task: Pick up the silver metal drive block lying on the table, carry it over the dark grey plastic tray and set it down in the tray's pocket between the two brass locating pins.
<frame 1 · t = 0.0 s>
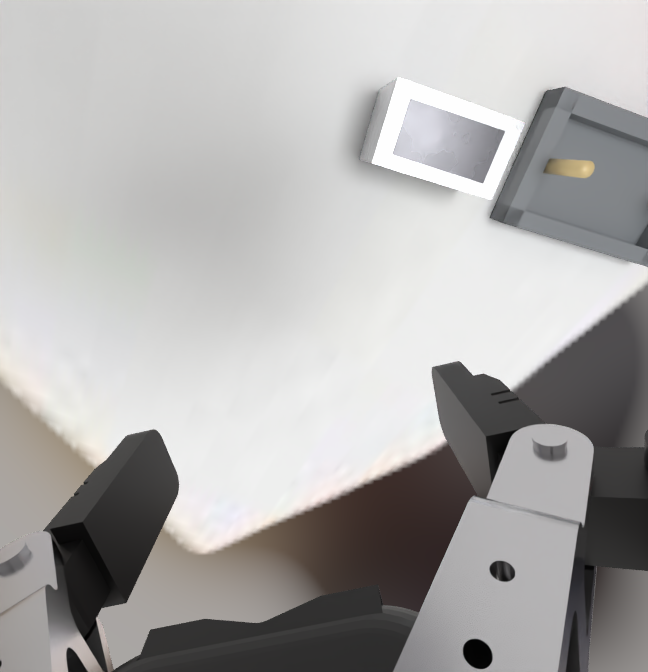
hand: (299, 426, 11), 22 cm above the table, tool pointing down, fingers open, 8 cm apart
tray: (592, 183, 31), on the table
drive: (420, 142, 29), on the table
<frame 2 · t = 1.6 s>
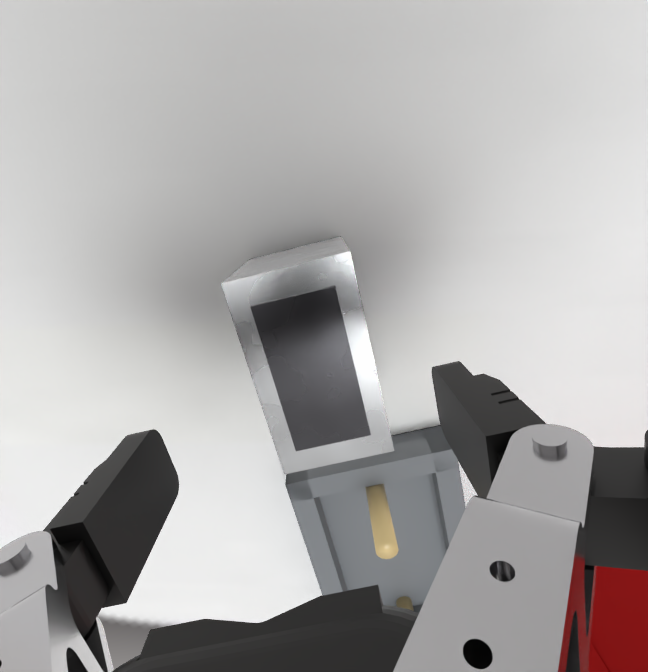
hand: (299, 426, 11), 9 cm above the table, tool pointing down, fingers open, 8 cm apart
fire alarm: (630, 618, 27), on the table
tray: (387, 532, 24), on the table
drive: (315, 325, 20), on the table
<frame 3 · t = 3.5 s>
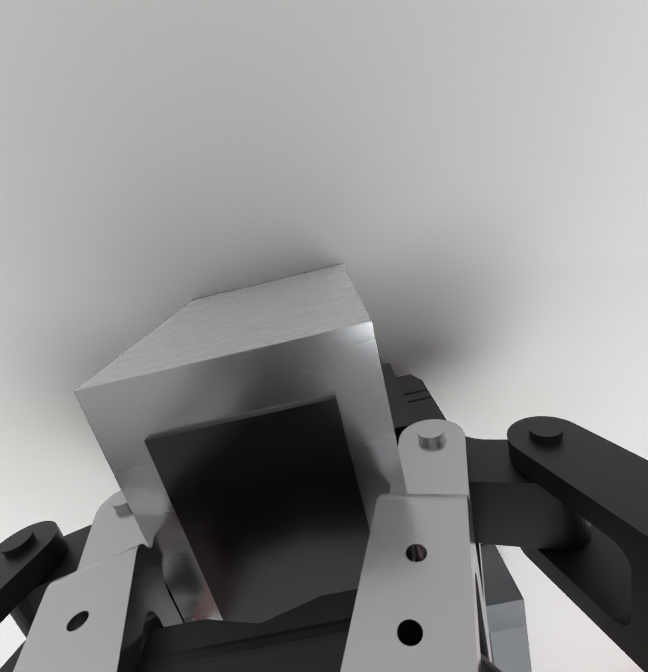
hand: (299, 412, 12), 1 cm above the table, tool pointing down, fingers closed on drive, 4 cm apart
drive: (301, 402, 13), on the table, touching gripper
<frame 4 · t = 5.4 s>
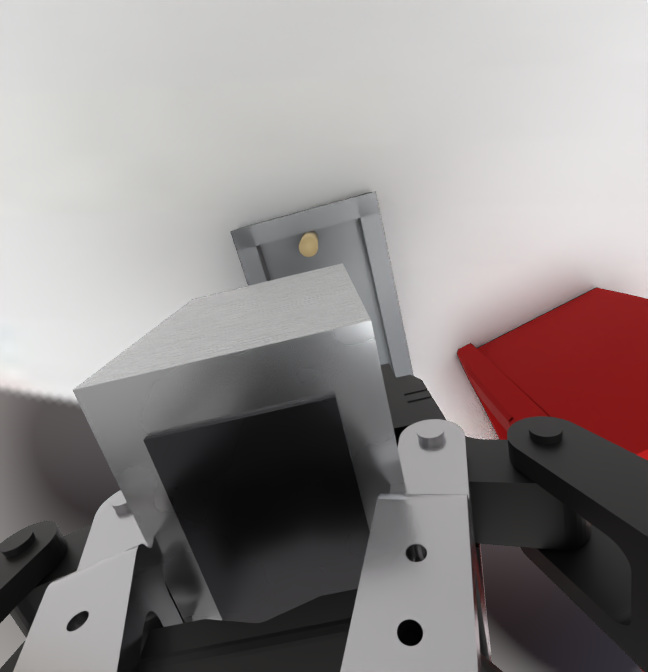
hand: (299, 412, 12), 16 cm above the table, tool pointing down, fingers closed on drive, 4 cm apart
fire alarm: (555, 404, 31), on the table
tray: (329, 308, 28), on the table
drive: (301, 402, 13), point 15 cm above the table, touching gripper
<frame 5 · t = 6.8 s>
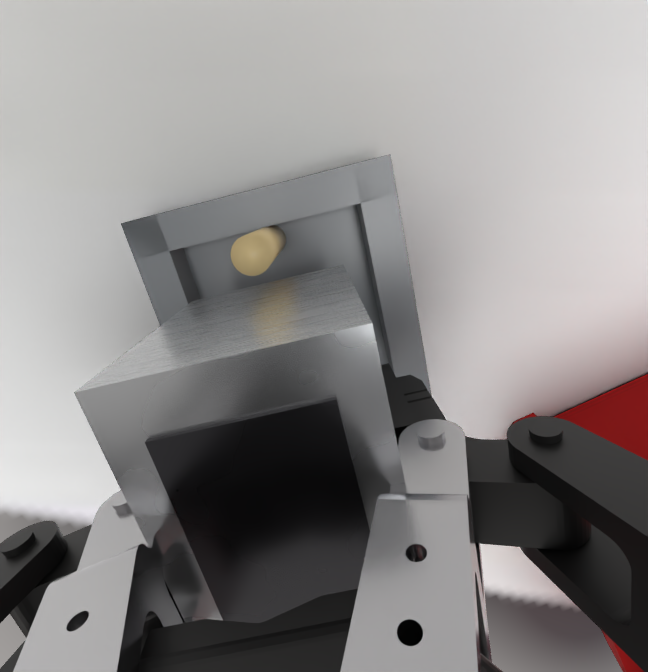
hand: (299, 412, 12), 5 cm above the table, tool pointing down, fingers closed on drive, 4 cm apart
tray: (306, 355, 17), on the table
drive: (301, 403, 13), point 4 cm above the table, touching gripper
when the fingers open (4 cm above the table, at t = 7.8 s): drive drops 2 cm, resting on tray.
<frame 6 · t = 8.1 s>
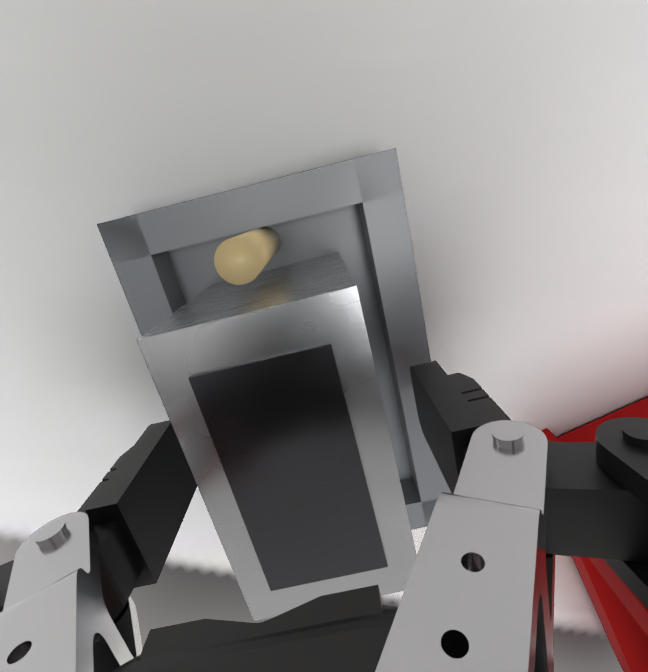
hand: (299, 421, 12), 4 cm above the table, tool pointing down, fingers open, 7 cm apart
tray: (303, 367, 15), on the table
drive: (304, 373, 15), point 1 cm above the table, touching tray
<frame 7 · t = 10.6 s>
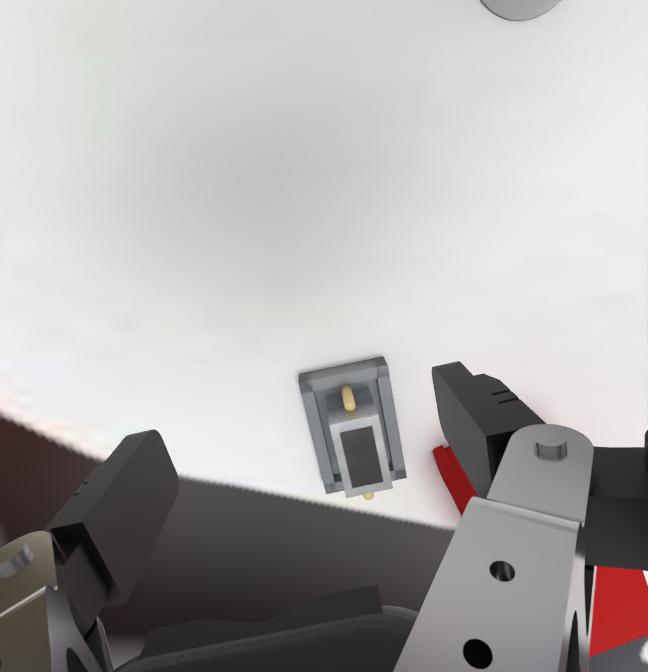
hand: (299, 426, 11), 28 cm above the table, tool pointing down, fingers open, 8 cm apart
fire alarm: (496, 483, 47), on the table
tray: (352, 422, 43), on the table
drive: (354, 424, 42), point 1 cm above the table, touching tray
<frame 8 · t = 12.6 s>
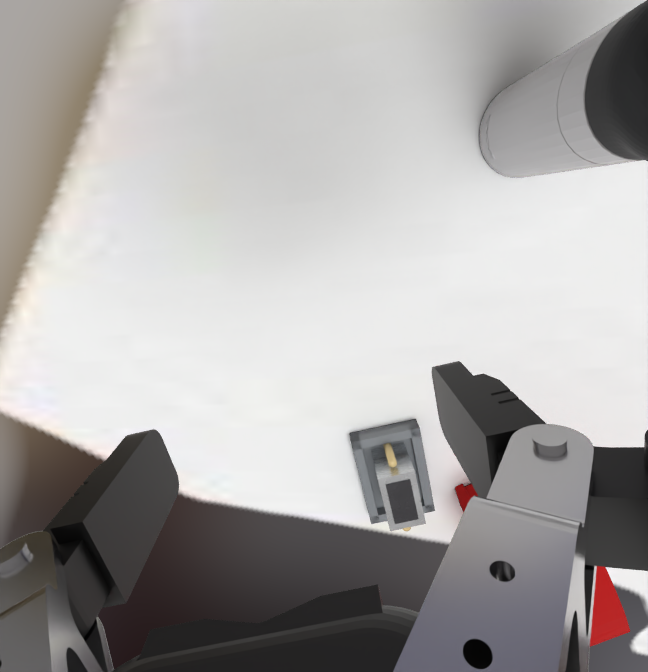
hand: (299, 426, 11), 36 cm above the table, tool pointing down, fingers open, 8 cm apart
fire alarm: (506, 512, 58), on the table
tray: (391, 467, 55), on the table
drive: (393, 470, 54), point 1 cm above the table, touching tray
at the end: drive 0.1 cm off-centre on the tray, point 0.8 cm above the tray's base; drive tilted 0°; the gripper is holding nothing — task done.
